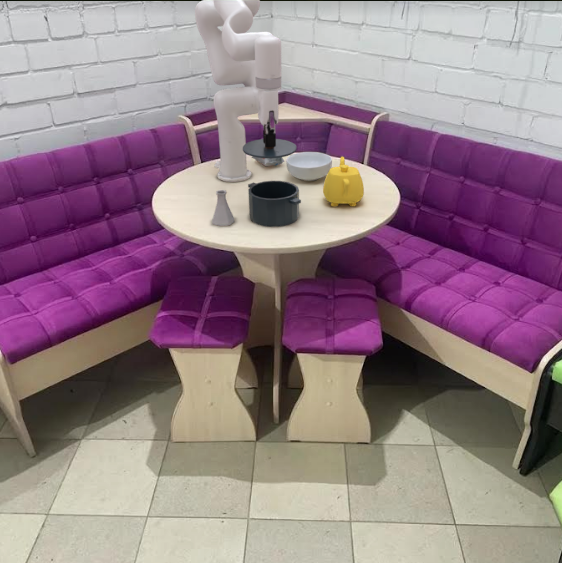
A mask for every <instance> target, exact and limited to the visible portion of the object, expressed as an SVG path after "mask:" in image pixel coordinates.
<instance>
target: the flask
mask: <svg viewBox="0 0 562 563" xmlns="http://www.w3.org/2000/svg"><path fill="white" fill-rule="evenodd" d="M215 194H216V196H217V200H216V206H215V210H214V213H213V216H212V220H211V221H212V222H211V223H212V224H211V225H215V226H219V227H226V226H230V225H232V224H233V223H235V216H234V215H233V213H232V210H231V208H230V206H229V203H228V200H227V196H226V195H227V190H224V189H218V190H216V192H215Z"/></svg>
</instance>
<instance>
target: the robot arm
mask: <svg viewBox="0 0 562 563" xmlns="http://www.w3.org/2000/svg"><path fill="white" fill-rule="evenodd" d="M260 1H261V0H201V1H199V2H198V3H197V4H196V5H195V8H194V17H195V18H194V19H195V24H196V27H197V30H198V32H199V34H200V37H201V39H202V41H203V43H204V45H205V48H206V54H207V57H208V62H209V67H210V72H211V75H212V76H211V77H212V79H213V81H214V83H215V84H216V85H217V86H234V85H243V86H239V87H236V86H235V87H229V88H223V89H220V90H217V91H216V93H215V94H214V95H213V107H214V111H215V115H216V119H217V130H218V142H219V143H218V145H219V158H220V159H219V160H216V161H215V163H214V166H213V167H214V168H215V169H218V171H217V178H218V180H220V181H223V182H227V183H229V182H230V183H235V182H236V183H237V182H244V181H247V180H249V179H250V178H251V177H252V172H251V170H250V169H248V163H247V162H248V161H247V154H245V153H244V152H243V146H244V145H245V144H246V143H247V141H246V140H247V139H246V128H245V126H244V124H243V123H242V122H241V121H240V120H239V117H243V116H249V115H256V114H257V118H258V120H259V122H260V124H261V126H263V128H262V129H263V130H262V137H263V138H262V139H263V142H264V144H265V147H275V146H276V139H277V134H276V125H278V124H279V90H282V41H281V39H280V38H279V37H278V36H274V34H272V33H271V32H269V31H256V32H255V31H252V32H248V31H249V30H250V29H251V27H252V26H253V23H254V17H255V16H256V15H257V14H258V12H259V10H260V4H261V2H260ZM219 27H222V29H219ZM265 129H266V134H265Z"/></svg>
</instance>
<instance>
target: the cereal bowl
mask: <svg viewBox="0 0 562 563" xmlns="http://www.w3.org/2000/svg"><path fill="white" fill-rule="evenodd" d="M285 165H286V169H287V171H288V173H289V174H290V175H291V176H292V177H294V178H296V179H299V180H300V181H304V182H314V181H317V180H319V179H321V178H324V177H326V176H327V174H328V172H329V170H330V169H331V168H332V165H333V159H332V156H330V155H329V154H327V153H323V152H317V151H302V152H295V153H293V154H291V155H289V156H287V158H286V161H285Z"/></svg>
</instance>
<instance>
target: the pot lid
mask: <svg viewBox="0 0 562 563" xmlns="http://www.w3.org/2000/svg"><path fill="white" fill-rule="evenodd" d="M265 134H266V129H265ZM297 149H298V148H297V145H296V144H295V143H293V141H289V140H285V139H280V138H276V146H275V147H265V144H264V142H263V138H260V139H255V140H251V141H248V142H246V144H245V145H244V146H243V152H244V153H245V154H246V156H250V157H251V158H252V157H257V158H280V157H282V158H285V157H289V156H291V155H293V154H296V153H297Z"/></svg>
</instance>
